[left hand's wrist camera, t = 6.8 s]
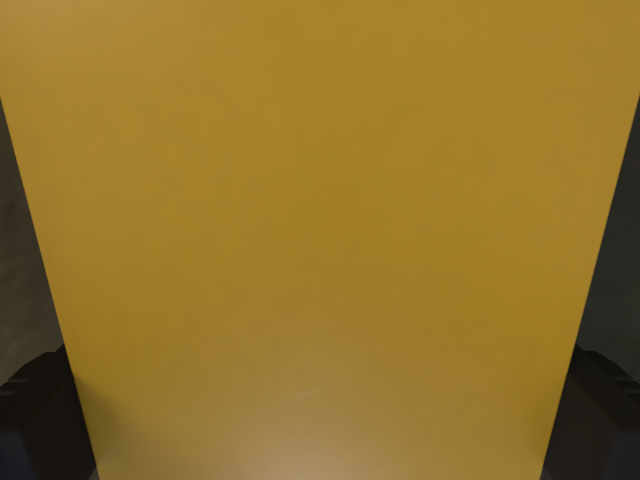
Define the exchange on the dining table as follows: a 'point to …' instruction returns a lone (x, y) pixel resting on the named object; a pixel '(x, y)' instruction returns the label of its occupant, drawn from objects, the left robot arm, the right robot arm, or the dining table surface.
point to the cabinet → (319, 223)
